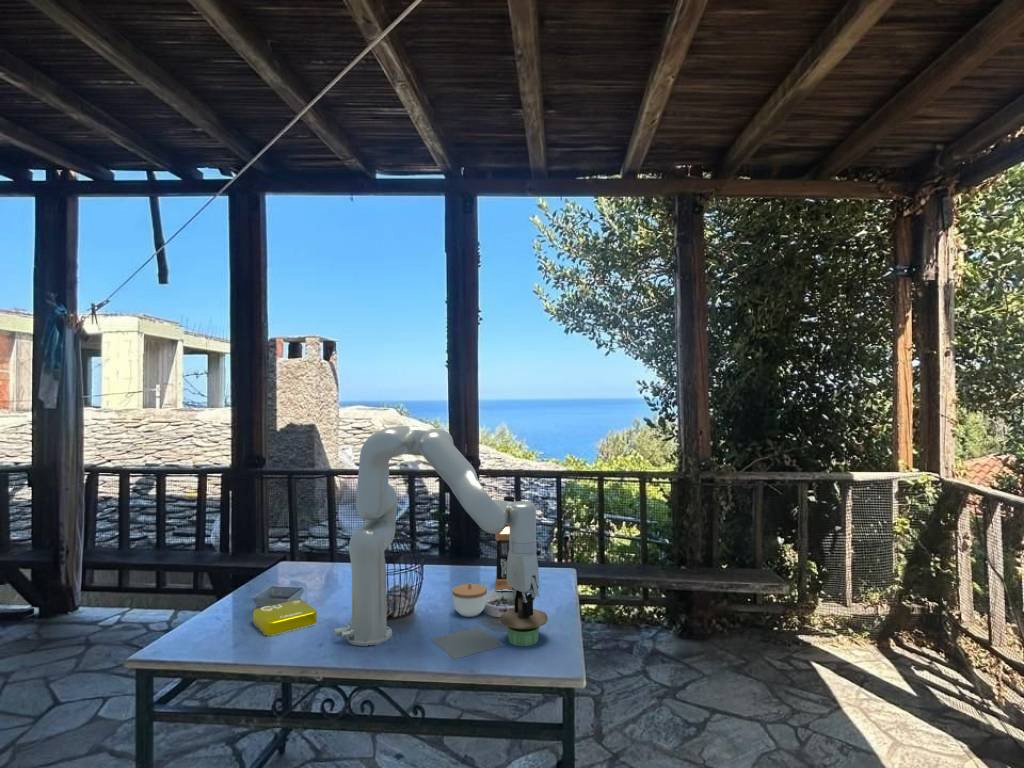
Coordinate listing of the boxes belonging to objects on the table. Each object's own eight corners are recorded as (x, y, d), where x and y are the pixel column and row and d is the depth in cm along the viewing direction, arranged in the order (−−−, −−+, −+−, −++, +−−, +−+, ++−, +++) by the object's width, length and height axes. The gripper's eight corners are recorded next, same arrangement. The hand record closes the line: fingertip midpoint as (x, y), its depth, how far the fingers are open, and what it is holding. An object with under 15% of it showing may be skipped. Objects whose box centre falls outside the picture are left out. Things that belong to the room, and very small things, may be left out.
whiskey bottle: (523, 592, 202) (522, 499, 203) (495, 592, 202) (494, 499, 203) (523, 582, 212) (522, 494, 213) (496, 582, 212) (495, 494, 213)
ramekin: (502, 638, 164) (502, 622, 164) (532, 633, 167) (532, 617, 167) (513, 650, 155) (513, 634, 155) (544, 645, 158) (544, 629, 158)
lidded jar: (471, 623, 174) (471, 591, 174) (445, 615, 181) (445, 585, 181) (494, 612, 183) (493, 582, 183) (468, 605, 189) (468, 576, 189)
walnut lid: (517, 632, 152) (516, 610, 153) (491, 617, 163) (491, 596, 163) (557, 621, 159) (556, 600, 160) (529, 607, 170) (529, 587, 171)
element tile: (266, 639, 165) (266, 622, 165) (251, 623, 177) (251, 607, 177) (318, 625, 175) (318, 609, 175) (301, 612, 186) (301, 596, 186)
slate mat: (454, 660, 149) (454, 659, 149) (430, 640, 162) (430, 638, 162) (504, 646, 157) (504, 645, 157) (477, 628, 170) (477, 627, 170)
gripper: (496, 542, 167) (496, 607, 166) (528, 555, 153) (529, 626, 152) (518, 539, 171) (519, 602, 170) (551, 551, 157) (552, 620, 156)
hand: (523, 613), depth 161 cm, fingers closed on walnut lid, 3 cm apart
